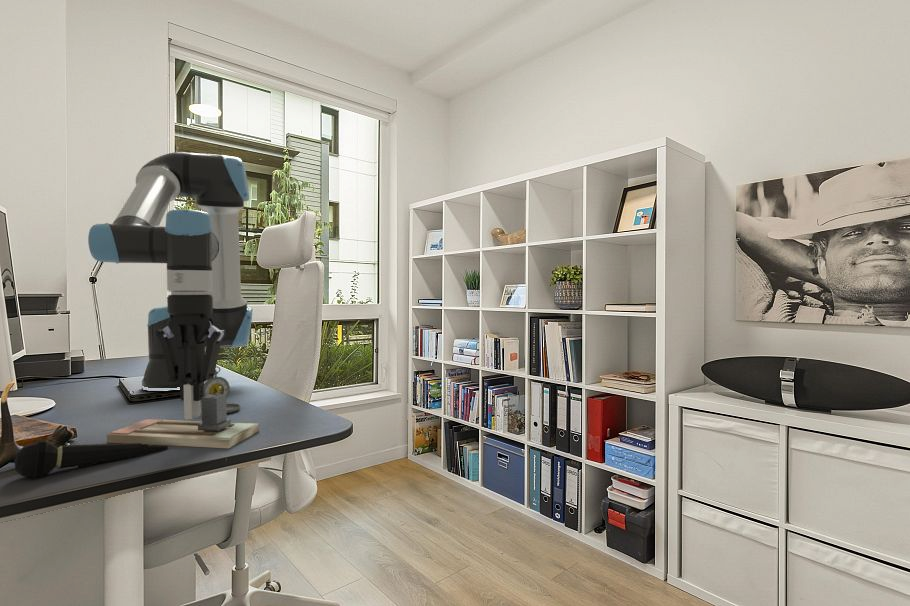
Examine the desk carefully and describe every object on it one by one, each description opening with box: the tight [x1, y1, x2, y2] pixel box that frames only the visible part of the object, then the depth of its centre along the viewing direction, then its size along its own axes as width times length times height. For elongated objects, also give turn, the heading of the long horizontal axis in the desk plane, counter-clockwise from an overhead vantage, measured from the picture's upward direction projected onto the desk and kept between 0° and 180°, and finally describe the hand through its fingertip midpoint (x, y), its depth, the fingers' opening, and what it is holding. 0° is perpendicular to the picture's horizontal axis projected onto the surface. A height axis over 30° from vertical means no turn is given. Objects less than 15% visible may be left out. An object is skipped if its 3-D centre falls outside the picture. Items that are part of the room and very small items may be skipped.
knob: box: [198, 393, 232, 431], centre depth 91 cm, size 4×4×6 cm
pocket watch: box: [204, 365, 241, 414], centre depth 111 cm, size 8×8×10 cm
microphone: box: [13, 438, 169, 479], centre depth 78 cm, size 6×6×20 cm
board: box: [106, 418, 260, 449], centre depth 92 cm, size 10×24×2 cm, turn 83°
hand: (192, 417), depth 92 cm, fingers closed
